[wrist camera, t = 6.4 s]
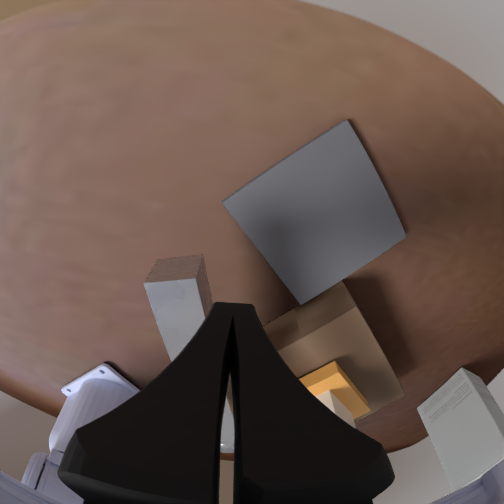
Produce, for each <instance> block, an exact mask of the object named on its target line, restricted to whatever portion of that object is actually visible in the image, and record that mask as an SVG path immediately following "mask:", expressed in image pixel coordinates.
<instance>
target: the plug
mask: <svg viewBox="0 0 504 504" xmlns="http://www.w3.org/2000/svg"><path fill="white" fill-rule="evenodd" d="M299 380H300V381H301V382H302V384H303V385H304V386H305V387H306V388H307V389H308V390H309V391H310V392H311V393H312V394H313V395H314V396H315V397H316V398H317V399H319V400H320V401H321V402H322V403H323V404H324V405H325V406H327V407H328V408H329V409H330V410H331V411H332V412H334V413H335V414H336V415H337V416H338V417H340V418H341V419H343V420H344V421H345V422H347V423H348V424H349V425H351V426H352V427H354V428H355V429H356V427H355V423H354V420H353V419H356V418H358V417H360V416H362V415H364V414H366V413H368V412H370V411H371V410H370V407H369V405H368V402H367V400H366V399H365V398H364V396H363V395H362V394H361V393H360V391H359V390H358V389H357V388H356V387H355V385H354V384H353V383H352V382H351V380H350V379H349V378H348V377H347V375H346V374H345V373H344V372H343V370H342V369H341V368H340V367H339V365H338V364H337V363H336V362H335V361H333V362H331V363H329V364H328V365H326V366H324V367H322V368H320V369H318V370H316V371H314V372H312V373H310V374H308V375H306V376H304V377H302V378H300V379H299Z"/></svg>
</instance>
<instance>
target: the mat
mask: <svg viewBox="0 0 504 504" xmlns="http://www.w3.org/2000/svg"><path fill="white" fill-rule="evenodd" d="M222 204H223V205H224V206H225V208H226V209H227V210H228V212H229V213H230V214H231V215H232V217H233V218H234V219H235V221H236V222H237V223H238V224H239V226H240V227H241V228H242V230H243V231H244V232H245V233H246V235H247V236H248V237H249V239H250V240H251V241H252V242H253V244H254V245H255V246H256V248H257V249H258V250H259V252H260V253H261V254H262V255H263V257H264V258H265V259H266V261H267V262H268V263H269V264H270V266H271V267H272V268H273V270H274V271H275V272H276V274H277V275H278V276H279V277H280V279H281V280H282V281H283V283H284V284H285V285H286V287H287V288H288V289H289V290H290V292H291V293H292V294H293V296H294V297H295V298H296V300H297V301H298V302H299V304H300V305H302V304H304V303H305V302H307V301H309V300H310V299H312V298H314V297H315V296H317V295H319V294H320V293H322V292H324V291H325V290H327V289H328V288H330V287H332V286H333V285H335V284H336V283H338V282H340V281H341V280H343V279H344V278H346V277H347V276H349V275H351V274H352V273H354V272H355V271H357V270H358V269H360V268H361V267H363V266H364V265H366V264H367V263H369V262H370V261H372V260H373V259H375V258H376V257H378V256H379V255H381V254H382V253H384V252H385V251H387V250H388V249H390V248H391V247H393V246H394V245H395V244H397V243H398V242H400V241H401V240H403V239H404V238H405V237H407V236H406V234H405V231H404V229H403V227H402V224H401V222H400V220H399V217H398V215H397V213H396V211H395V208H394V206H393V204H392V202H391V200H390V198H389V196H388V194H387V191H386V189H385V187H384V185H383V183H382V181H381V179H380V177H379V175H378V173H377V172H376V170H375V168H374V166H373V164H372V162H371V160H370V158H369V157H368V155H367V153H366V151H365V149H364V147H363V146H362V144H361V142H360V140H359V139H358V137H357V135H356V134H355V132H354V130H353V129H352V127H351V125H350V124H349V122H348V120H343V121H342V122H340V123H338V124H337V125H335V126H334V127H332V128H330V129H329V130H327V131H325V132H324V133H322V134H321V135H319V136H318V137H316V138H314V139H313V140H311V141H310V142H308V143H307V144H305V145H303V146H302V147H300V148H299V149H297V150H296V151H294V152H293V153H291V154H290V155H288V156H287V157H285V158H284V159H282V160H281V161H279V162H278V163H276V164H275V165H273V166H272V167H270V168H269V169H267V170H266V171H264V172H263V173H261V174H260V175H258V176H257V177H256V178H254V179H253V180H251V181H250V182H248V183H247V184H245V185H244V186H243V187H241V188H240V189H238V190H237V191H236V192H234V193H233V194H231V195H230V196H229V197H227V198H226V199H224V200H223V201H222Z"/></svg>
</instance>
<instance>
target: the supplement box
mask: <svg viewBox="0 0 504 504" xmlns="http://www.w3.org/2000/svg"><path fill="white" fill-rule="evenodd" d="M417 410H418V413H419V415H420V417H421V419H422V421H423V423H424V426H425V428H426V430H427V432H428V434H429V436H430V439H431V441H432V443H433V446H434V448H435V450H436V453H437V455H438V457H439V460H440V462H441V464H442V467H443V469H444V472H445V474H446V477H447V479H448V482H449V484H450V487H451V490H452V493H453V492H455V491H457V490H459V489H461V488H463V487H465V486H467V485H468V484H470V483H472V482H474V481H475V480H477V479H479V478H481V477H482V475H484V474H485V473H486V472H487V471H488V470H490V469H491V468H492V467H494V466H495V465H496V464H498V463H499V462H501V461H502V460H504V414H503V412H502V411H501V409H500V408H499V406H498V404H497V403H496V401H495V400H494V398H493V396H492V395H491V393H490V392H489V390H488V389H487V387H486V385H485V384H484V382H483V381H482V379H481V378H480V377H479V376H477V375H475V374H473V373H472V372H470V371H468V370H466V369H464V368H463V367H462V368H460V369H459V370H458V371H457V372H456V373H455V374H454V375H453V376H452V377H451V378H450V379H449V380H448V381H447V382H446V383H444V384H443V385H442V386H441V387H440V388H439V389H438V390H437V391H436V392H434V393H433V394H432V395H431V396H430V397H429V398H428V399H427V400H425V401H424V402H423V403H422V404H421V405H419V406H418V407H417Z"/></svg>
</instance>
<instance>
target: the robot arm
mask: <svg viewBox="0 0 504 504" xmlns="http://www.w3.org/2000/svg"><path fill="white" fill-rule="evenodd" d="M229 375H230V377H231V392H232V405H233V417H234V483H233V485H234V486H233V489H234V490H233V504H373V501H372V499H373V498H375V497H376V496H377V495H378V494H380V493H382V492H383V491H384V490H385V489H387V488H388V487H389V486H390V485H391V484H392V482H393V481H394V478H395V475H394V472H393V469H392V466H391V463H390V461H389V458H388V456H387V454H386V452H385V450H384V448H383V446H382V444H381V443H379V442H377V441H375V440H374V439H372V438H370V437H369V436H367V435H365V434H364V433H362V432H360V431H359V430H357V429H355V428H354V427H352V426H351V425H349V424H348V423H347V422H345V421H344V420H343V419H341V418H340V417H338V416H337V415H336V414H335V413H334V412H332V411H331V410H330V409H329V408H328V407H327V406H325V405H324V404H323V403H322V402H321V401H320V400H319V399H317V398H316V397H315V396H314V395H313V394H312V393H311V392H310V391H309V390H308V389H307V388H306V387H305V386H304V385H303V384H302V382H301V381H300V380H299V379H298V378H297V377H296V376H295V374H294V373H293V372H292V371H291V369H290V368H289V367H288V366H287V364H286V363H285V362H284V360H283V359H282V357H281V356H280V355H279V353H278V352H277V350H276V349H275V347H274V346H273V344H272V342H271V341H270V339H269V337H268V336H267V334H266V332H265V330H264V328H263V326H262V324H261V322H260V320H259V318H258V316H257V313H256V311H255V308H254V306H253V305H252V304H242V303H225V302H215V303H214V304H212V307H211V309H210V311H209V313H208V315H207V316H206V318H205V320H204V321H203V323H202V324H201V326H200V327H199V329H198V330H197V332H196V333H195V334H194V336H193V337H192V339H191V340H190V341H189V343H188V344H187V345H186V346H185V347H184V349H183V350H182V351H181V352H180V353H179V355H178V356H177V357H176V358H175V359H174V360H173V361H172V362H171V363H170V364H169V365H168V366H167V367H166V368H165V369H164V370H163V371H162V372H161V373H160V374H159V375H158V376H157V377H156V378H155V379H154V380H152V381H151V382H150V383H149V384H148V385H147V386H145V387H144V388H143V389H142V390H139V389H138V388H136V387H135V386H134V385H133V384H131V383H130V382H129V381H128V380H126V379H125V378H124V377H123V376H121V375H120V374H119V373H118V372H116V371H115V370H114V369H113V368H112V367H111V366H109V365H108V364H105V363H103V364H101V365H99V366H97V367H96V368H94V369H92V370H91V371H89V372H87V373H86V374H84V375H82V376H81V377H79V378H77V379H76V380H74V381H72V382H71V383H69V384H67V385H65V386H64V387H63V388H62V389H61V390H62V392H63V393H64V394H65V395H66V396H68V397H67V399H66V401H65V403H64V406H63V408H62V410H61V412H60V414H59V416H58V418H57V421H56V423H55V425H54V427H53V429H52V432H51V434H50V438H49V448H50V455H49V457H48V459H47V458H46V457H47V454H45V453H44V452H42V451H41V452H40V453H34V454H33V455H32V457H31V459H30V461H29V463H28V466H27V468H26V471H25V473H24V476H23V479H22V482H20V481H18V480H16V479H14V478H13V477H11V476H9V475H8V474H6V473H5V472H3V471H1V470H0V504H219V478H220V449H221V430H222V421H223V415H224V408H225V402H226V395H227V388H228V382H229ZM430 504H504V460H502V461H501V462H499V463H498V464H496V465H495V466H494V467H492V468H491V469H490V470H488V471H487V472H486V473H485V474H484V475H482V477H481V478H479V479H477V480H475V481H474V482H472V483H470V484H468V485H467V486H465V487H463V488H461V489H459V490H457V491H455V492H453V493H451V494H449V495H447V496H445V497H443V498H441V499H439V500H436V501H434V502H432V503H430Z"/></svg>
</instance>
